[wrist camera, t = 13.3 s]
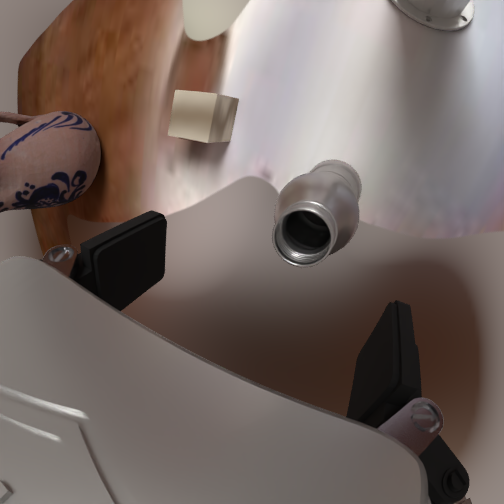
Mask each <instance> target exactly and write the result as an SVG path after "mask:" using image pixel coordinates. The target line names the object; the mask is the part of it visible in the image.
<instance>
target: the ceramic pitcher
mask: <svg viewBox="0 0 504 504" xmlns="http://www.w3.org/2000/svg"><path fill="white" fill-rule="evenodd" d="M0 122H8V123H13V124H16V125H18V126H19V128H17V129H15V130H14V131H12V132H10V133H9V134H7V135H5V136H4V137H2V138H1V139H0V212H3V211H8V210H21V209H37V208H48V207H55V206H59V205H63V204H66V203H69V202H71V201H73V200H75V199H77V198H78V197H80V196H81V195H82V194H83V193H84V192H85V191H86V190H87V189H88V188H89V187H90V185H91V184H92V182H93V180H94V178H95V176H96V174H97V171H98V168H99V164H100V159H101V149H100V142H99V138H98V136H97V134H96V131H95V130H94V128H93V127H92V125H91V124H90V123H89V122H88V121H87V120H86V119H84V118H82V117H81V116H79V115H77V114H75V113H72V112H67V111H58V112H52V113H49V114H46V115H38V116H32V117H31V116H26V115H20V114H15V113H10V112H0Z"/></svg>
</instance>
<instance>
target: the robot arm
mask: <svg viewBox="0 0 504 504" xmlns="http://www.w3.org/2000/svg"><path fill="white" fill-rule="evenodd" d="M391 1H392V2H393V3H394V4H395V5H396V6H397V7H398V8H399V9H400V10H401V11H402V12H404V13H405V14H406V15H408V16H409V17H411V18H412V19H414V20H416V21H417V22H419V23H421V24H424V25H426V26H428V27H431V28H435V29H438V30H445V31H455V30H459V29H462V28H464V27H466V26H467V25H468V24H469V23H470V21H471V20H472V18H473V15H474V4H473V0H391ZM427 20H428V21H429V22H428V21H427ZM166 228H167V221H166V219H165V217H164V215H163V214H161V213H158V212H155V211H149V212H146V213H144V214H142V215H140V216H137V217H135V218H133V219H131V220H129V221H127V222H124V223H122V224H120V225H118V226H116V227H114V228H112V229H110V230H108V231H105V232H104V233H101V234H99V235H97V236H95V237H93V238H92V239H89V240H87V241H85V242H83V243H82V244H80V246H81V253H80V254H78V251H77V249H76V248H75V247H74V246H71V245H59V246H55V247H53V248H51V249H50V250H48V251H47V252H46V254H45V256H44V257H43V259H42V260H37V259H34V258H30V257H22V256H15V257H11V258H9V259H7V260H5V261H3V262H1V263H0V504H472V502H471V500H470V498H468V499H466V498H465V495H466V493H467V491H468V488H469V476H468V473H467V471H466V470H465V468H464V467H463V465H462V464H461V463H460V461H459V460H458V459H457V457H456V456H455V455H454V454H453V452H452V451H451V450H450V448H449V447H448V446H447V445H446V443H445V442H444V441H443V440H442V438H441V437H440V436H439V433H440V431H441V429H442V428H443V415H442V413H441V410H440V409H439V408H438V406H437V405H436V404H435V403H434V402H432V401H431V400H429V399H426V398H422V396H421V378H420V363H419V353H418V347H417V345H416V344H415V338H414V330H413V322H412V315H411V308H410V305H408V304H405V303H403V302H400V301H397V300H396V301H395V302H394V303H391V302H390V303H389V304H388V305H387V307H386V309H385V311H384V313H383V315H382V316H381V318H380V320H379V322H378V323H377V325H376V327H375V328H374V330H373V332H372V333H371V335H370V337H369V338H368V340H367V342H366V343H365V345H364V346H363V348H362V350H361V351H360V353H359V355H358V358H357V362H356V368H355V374H354V380H353V386H352V391H351V397H350V402H349V407H348V412H347V416H346V417H344V416H342V415H339V414H336V413H333V412H330V411H327V410H325V409H322V408H319V407H316V406H313V405H311V404H308V403H305V402H303V401H300V400H298V399H295V398H292V397H290V396H287V395H285V394H282V393H280V392H277V391H275V390H272V389H270V388H267V387H265V386H263V385H260V384H258V383H256V382H253V381H251V380H249V379H247V378H244V377H242V376H240V375H238V374H236V373H233V372H231V371H229V370H227V369H225V368H223V367H221V366H219V365H216V364H214V363H212V362H210V361H208V360H206V359H204V358H202V357H200V356H198V355H196V354H194V353H193V352H191V351H189V350H187V349H185V348H183V347H181V346H179V345H177V344H175V343H173V342H172V341H170V340H168V339H166V338H164V337H163V336H161V335H159V334H157V333H156V332H154V331H152V330H151V329H149V328H147V327H145V326H144V325H142V324H140V323H139V322H137V321H135V320H134V319H132V318H130V317H129V316H127V315H125V314H124V313H122V312H121V310H123V309H124V308H125V307H126V306H128V305H129V304H130V303H132V302H133V301H134V300H135V299H137V298H138V297H139V296H141V295H142V294H143V293H144V292H146V291H147V290H148V289H149V288H151V287H152V286H153V285H155V284H156V283H157V282H159V281H160V280H161V279H162V278H163V276H164V273H165V246H166Z"/></svg>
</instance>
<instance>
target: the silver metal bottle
mask: <svg viewBox="0 0 504 504" xmlns="http://www.w3.org/2000/svg"><path fill="white" fill-rule="evenodd" d="M361 191H362V187H361V180H360V178H359V175H358V173H357V172H356V171H355V169H354V168H353V167H352V166H350V165H349V164H347V163H346V162H343V161H340V160H327V161H323V162H321V163H319V164H317V165H316V166H315V167H314V168H313V169H312V170H311V171H310V173H307V174H303V175H300V176H298V177H296V178H294V179H293V180H292V181H290V182H289V183H288V184H287V185H286V186H285V187H284V188H283V189H282V191H281V192H280V194H279V196H278V198H277V201H276V205H275V213H274V220H275V225H274V228H273V233H272V241H273V245H274V248H275V250H276V252H277V253H278V255H279V256H280V257H281V258H282V259H283V260H284V261H286V262H287V263H289V264H291V265H293V266H297V267H311V266H314V265H317V264H319V263H320V262H322V261H323V260H324V259H325V258H326V257H327V256H328V255H330V254H333V253H335V252H336V251H338V250H340V249H341V248H343V247H344V246H345V245H346V244H347V243H348V242H349V241H350V240H351V239H352V237H353V236H354V234H355V232H356V229H357V227H358V222H359V207H358V201H359V198H360V196H361Z"/></svg>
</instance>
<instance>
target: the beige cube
mask: <svg viewBox="0 0 504 504" xmlns="http://www.w3.org/2000/svg"><path fill="white" fill-rule="evenodd" d="M238 101H239V99H237V98H233V97H229V96H225V95H220V94H215V93H206V92H196V91H184V90H175V95H174V100H173V106H172V112H171V118H170V124H169V131H168V136H174V137H178V138H181V139H186V140H191V141H196V142H201V143H215V142H228V141H230V140H231V135H232V130H233V125H234V120H235V115H236V111H237V106H238Z"/></svg>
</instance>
